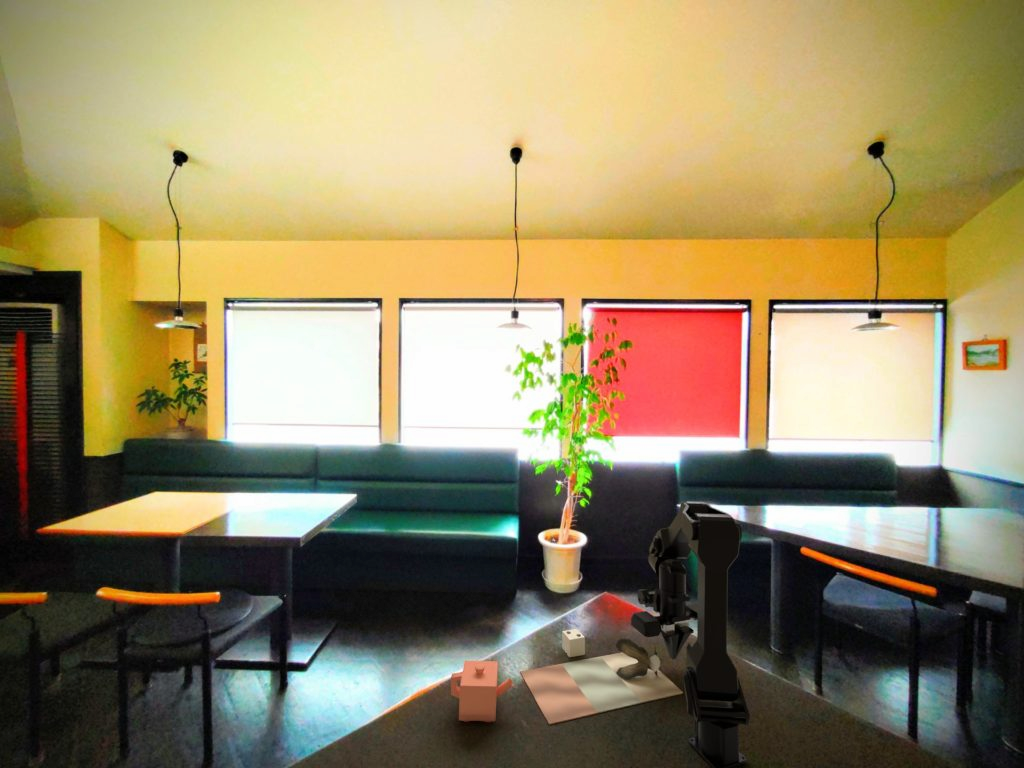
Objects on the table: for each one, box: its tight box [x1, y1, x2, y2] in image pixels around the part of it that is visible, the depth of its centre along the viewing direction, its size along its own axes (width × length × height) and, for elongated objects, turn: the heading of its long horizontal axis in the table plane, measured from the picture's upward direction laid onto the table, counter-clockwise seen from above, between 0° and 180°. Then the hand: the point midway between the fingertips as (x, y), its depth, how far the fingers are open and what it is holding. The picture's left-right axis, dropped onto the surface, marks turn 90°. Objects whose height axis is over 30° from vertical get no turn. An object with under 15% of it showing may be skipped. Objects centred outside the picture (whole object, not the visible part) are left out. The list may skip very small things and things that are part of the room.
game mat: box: [519, 652, 684, 726], centre depth 88 cm, size 16×30×1 cm, turn 108°
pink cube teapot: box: [450, 660, 515, 723], centre depth 79 cm, size 8×12×8 cm, turn 90°
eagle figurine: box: [614, 637, 662, 679], centre depth 91 cm, size 8×7×9 cm
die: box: [561, 628, 586, 658], centre depth 100 cm, size 4×4×4 cm
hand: (672, 658), depth 94 cm, fingers closed
